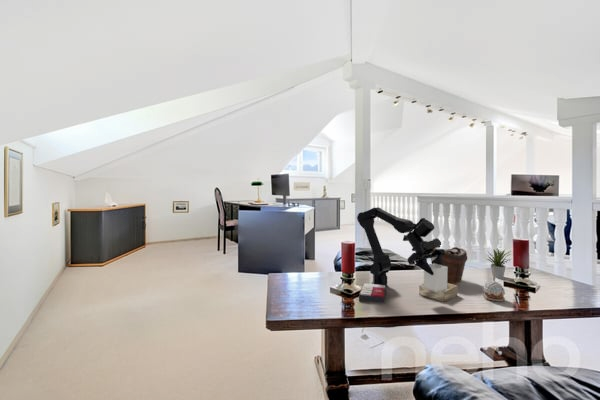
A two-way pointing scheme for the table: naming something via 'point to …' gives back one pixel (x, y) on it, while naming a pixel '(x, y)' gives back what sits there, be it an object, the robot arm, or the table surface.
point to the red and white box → (373, 293)
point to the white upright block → (436, 278)
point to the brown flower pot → (454, 263)
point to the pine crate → (442, 295)
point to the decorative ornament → (494, 289)
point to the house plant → (498, 263)
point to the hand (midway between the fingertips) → (438, 273)
